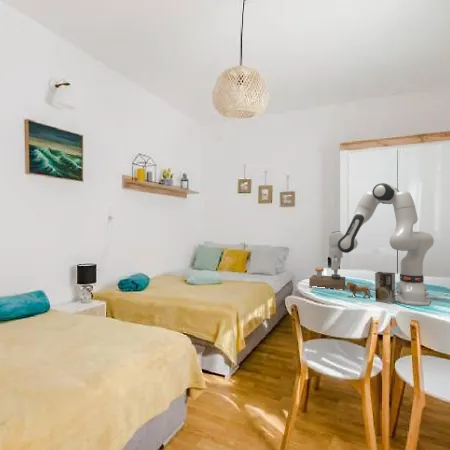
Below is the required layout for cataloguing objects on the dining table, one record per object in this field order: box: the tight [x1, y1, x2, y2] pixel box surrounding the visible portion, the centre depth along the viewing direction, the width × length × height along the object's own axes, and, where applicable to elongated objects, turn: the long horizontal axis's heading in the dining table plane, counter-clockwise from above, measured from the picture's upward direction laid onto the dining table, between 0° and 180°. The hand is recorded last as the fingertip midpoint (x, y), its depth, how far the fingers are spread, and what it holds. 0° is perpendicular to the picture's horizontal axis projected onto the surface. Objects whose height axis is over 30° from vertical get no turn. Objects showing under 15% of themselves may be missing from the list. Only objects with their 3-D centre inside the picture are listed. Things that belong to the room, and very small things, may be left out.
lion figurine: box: [345, 281, 373, 299], centre depth 189 cm, size 15×5×9 cm, turn 69°
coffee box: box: [374, 271, 396, 304], centre depth 179 cm, size 9×6×16 cm
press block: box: [308, 274, 346, 290], centre depth 219 cm, size 16×22×6 cm
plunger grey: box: [331, 273, 341, 279], centre depth 217 cm, size 6×6×8 cm
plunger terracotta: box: [314, 266, 325, 278], centre depth 222 cm, size 6×6×8 cm
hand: (335, 274), depth 217 cm, fingers closed, pressing on plunger grey
